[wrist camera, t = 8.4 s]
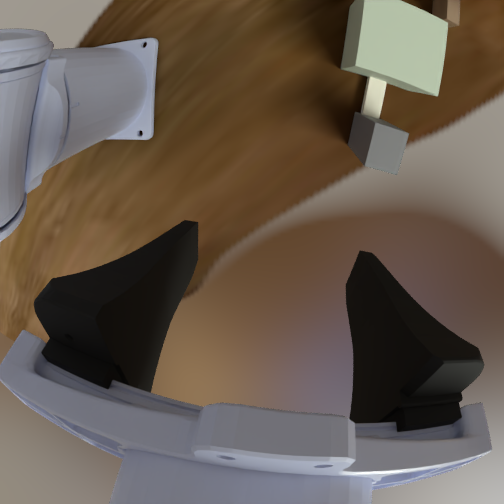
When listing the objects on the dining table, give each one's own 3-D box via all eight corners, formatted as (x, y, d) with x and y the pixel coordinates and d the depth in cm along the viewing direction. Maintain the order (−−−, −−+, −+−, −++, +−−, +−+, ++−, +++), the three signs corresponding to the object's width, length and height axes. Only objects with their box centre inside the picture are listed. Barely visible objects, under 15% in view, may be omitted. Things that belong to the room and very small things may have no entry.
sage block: (349, 6, 12) (368, -15, 8) (417, 30, 11) (452, 22, 7) (327, 140, 18) (338, 159, 14) (392, 157, 17) (418, 181, 13)
